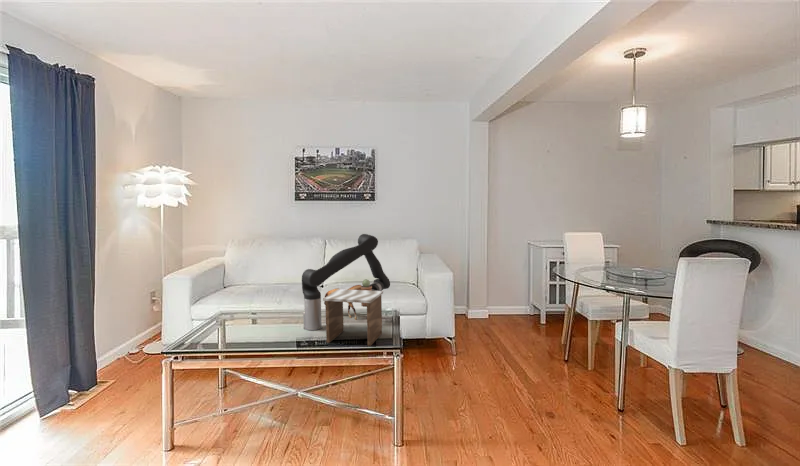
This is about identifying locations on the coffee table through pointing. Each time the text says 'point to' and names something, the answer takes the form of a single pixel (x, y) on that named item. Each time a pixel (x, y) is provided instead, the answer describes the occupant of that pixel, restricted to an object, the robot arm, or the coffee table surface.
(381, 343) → the coffee table surface
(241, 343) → the coffee table surface
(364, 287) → the pot
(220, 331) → the coffee table surface
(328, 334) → the side table
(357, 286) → the horse figurine
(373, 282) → the robot arm
